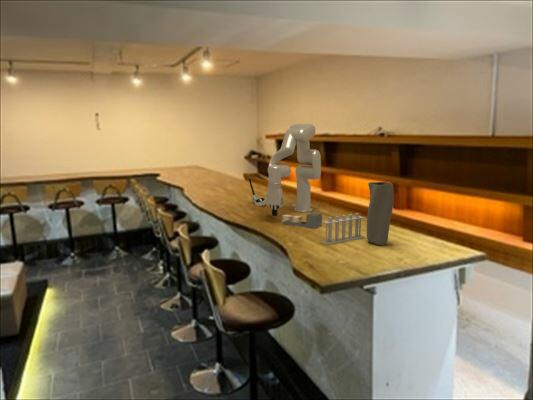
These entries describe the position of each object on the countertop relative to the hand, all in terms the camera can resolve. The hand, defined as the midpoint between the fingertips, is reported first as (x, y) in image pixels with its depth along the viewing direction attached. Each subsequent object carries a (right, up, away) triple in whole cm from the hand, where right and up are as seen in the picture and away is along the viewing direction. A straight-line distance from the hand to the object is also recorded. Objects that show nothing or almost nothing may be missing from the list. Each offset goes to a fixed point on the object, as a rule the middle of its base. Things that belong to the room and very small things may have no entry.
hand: (274, 215), depth 252 cm
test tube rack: (+34, -11, -42) cm, 55 cm away
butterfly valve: (-10, +6, +58) cm, 59 cm away
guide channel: (+13, -5, -7) cm, 16 cm away
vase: (+51, -12, -48) cm, 71 cm away
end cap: (+22, -6, -13) cm, 26 cm away
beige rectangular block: (+10, -5, -5) cm, 13 cm away
